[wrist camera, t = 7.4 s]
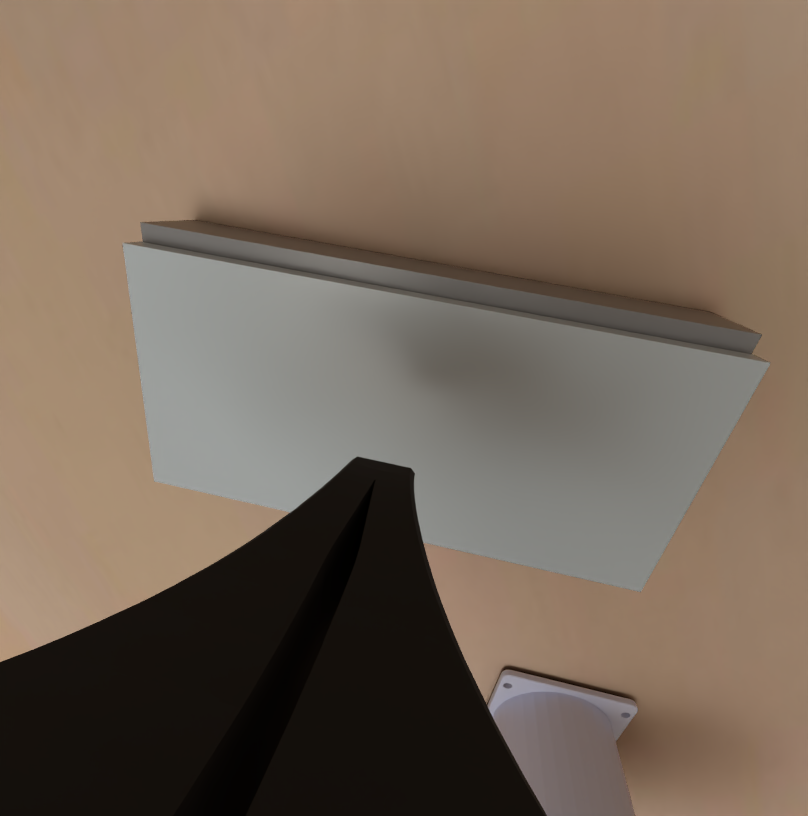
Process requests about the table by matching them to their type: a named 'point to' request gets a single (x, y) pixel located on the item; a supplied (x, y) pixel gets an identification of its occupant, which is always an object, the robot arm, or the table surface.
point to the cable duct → (455, 283)
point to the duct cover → (431, 408)
